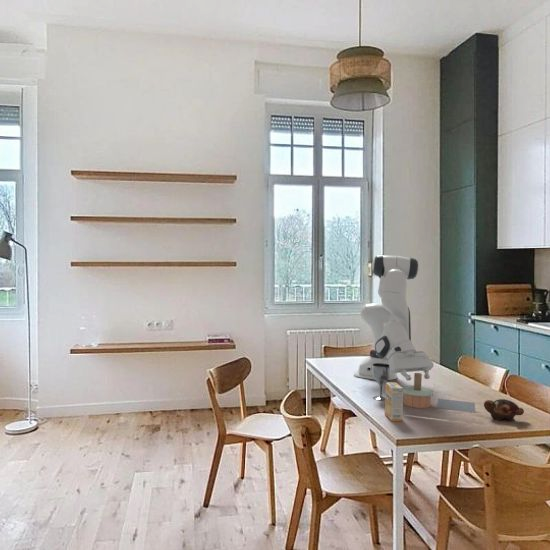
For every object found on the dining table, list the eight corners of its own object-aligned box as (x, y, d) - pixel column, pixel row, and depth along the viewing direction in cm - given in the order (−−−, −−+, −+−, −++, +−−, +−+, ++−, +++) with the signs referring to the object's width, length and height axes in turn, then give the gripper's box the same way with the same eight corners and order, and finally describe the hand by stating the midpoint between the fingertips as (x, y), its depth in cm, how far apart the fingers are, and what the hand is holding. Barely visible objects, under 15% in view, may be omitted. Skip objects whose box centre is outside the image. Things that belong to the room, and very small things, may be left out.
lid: (400, 394, 206) (400, 375, 206) (403, 387, 219) (403, 369, 218) (432, 398, 202) (433, 378, 202) (434, 390, 214) (434, 372, 214)
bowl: (402, 407, 207) (402, 394, 207) (405, 400, 217) (405, 387, 217) (429, 410, 203) (430, 397, 203) (431, 403, 214) (431, 390, 213)
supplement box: (384, 414, 197) (385, 382, 196) (395, 414, 197) (396, 382, 197) (390, 421, 188) (391, 387, 188) (403, 421, 189) (403, 387, 188)
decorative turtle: (478, 416, 197) (478, 396, 197) (514, 416, 198) (515, 396, 198) (490, 424, 188) (491, 403, 187) (528, 424, 189) (529, 403, 188)
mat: (436, 409, 205) (436, 407, 205) (438, 399, 219) (438, 398, 219) (475, 413, 200) (475, 412, 200) (474, 404, 214) (474, 402, 214)
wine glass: (379, 401, 214) (380, 367, 214) (367, 397, 222) (368, 363, 221) (393, 399, 218) (394, 366, 218) (381, 395, 225) (382, 362, 225)
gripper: (421, 354, 224) (435, 381, 215) (382, 357, 217) (395, 384, 208) (428, 346, 220) (442, 373, 211) (389, 348, 213) (401, 376, 204)
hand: (418, 379), depth 209 cm, fingers open, 8 cm apart
